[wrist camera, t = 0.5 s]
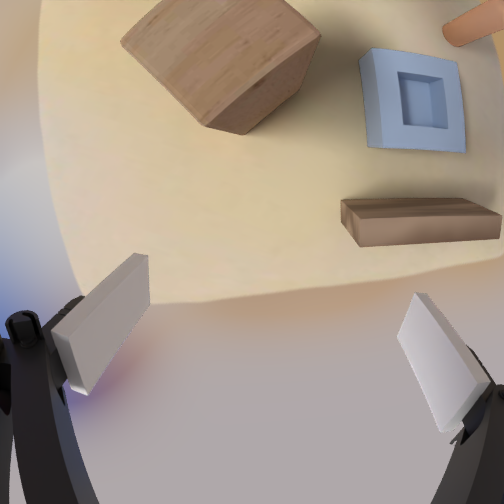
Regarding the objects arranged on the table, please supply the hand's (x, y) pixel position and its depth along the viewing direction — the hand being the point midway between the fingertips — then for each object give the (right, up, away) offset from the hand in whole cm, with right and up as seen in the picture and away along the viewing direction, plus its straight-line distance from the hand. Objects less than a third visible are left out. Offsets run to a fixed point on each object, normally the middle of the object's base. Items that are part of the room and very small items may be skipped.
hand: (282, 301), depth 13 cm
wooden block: (-2, +24, +20) cm, 31 cm away
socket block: (+19, +22, +18) cm, 34 cm away
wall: (+20, +8, +23) cm, 32 cm away
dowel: (+29, +35, +12) cm, 47 cm away
